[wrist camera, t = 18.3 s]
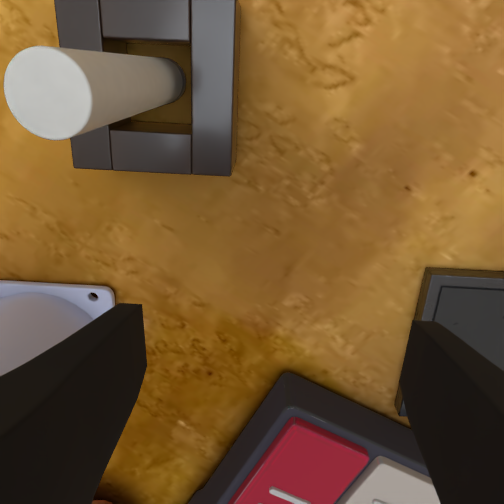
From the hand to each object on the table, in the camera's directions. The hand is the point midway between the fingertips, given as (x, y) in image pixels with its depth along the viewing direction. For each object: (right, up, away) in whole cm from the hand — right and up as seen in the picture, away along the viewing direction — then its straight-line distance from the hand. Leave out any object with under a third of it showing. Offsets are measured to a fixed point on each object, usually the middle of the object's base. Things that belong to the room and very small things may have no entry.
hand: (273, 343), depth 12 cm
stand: (-4, +10, +7) cm, 13 cm away
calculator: (+3, -12, +16) cm, 21 cm away
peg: (-4, +10, +7) cm, 13 cm away
